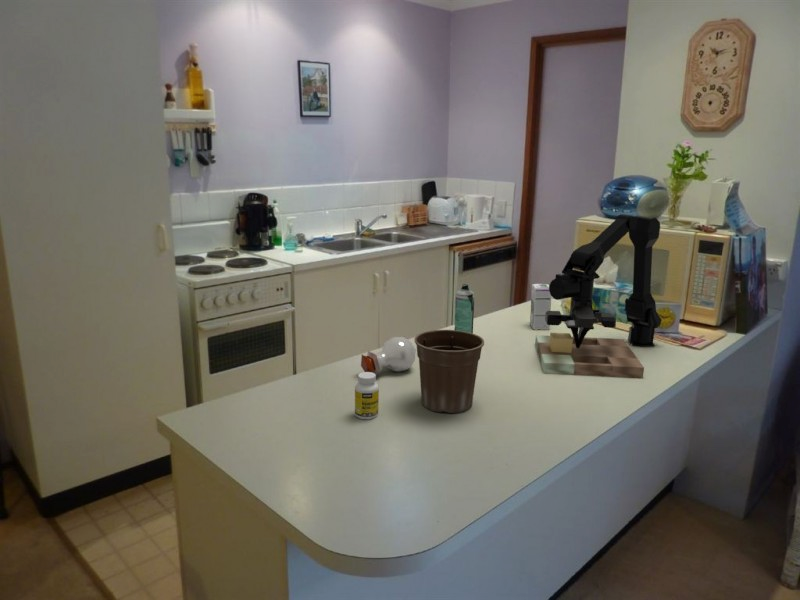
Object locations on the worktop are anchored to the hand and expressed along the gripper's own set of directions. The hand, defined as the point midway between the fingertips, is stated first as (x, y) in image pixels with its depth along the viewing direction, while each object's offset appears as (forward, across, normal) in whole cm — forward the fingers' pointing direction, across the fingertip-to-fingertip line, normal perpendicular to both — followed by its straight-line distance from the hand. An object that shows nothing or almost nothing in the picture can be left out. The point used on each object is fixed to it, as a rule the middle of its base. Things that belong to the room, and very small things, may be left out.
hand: (577, 347), depth 177 cm
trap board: (+4, +2, 0) cm, 4 cm away
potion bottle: (+4, -52, -17) cm, 55 cm away
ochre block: (+1, -5, 0) cm, 5 cm away
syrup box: (+4, -8, +30) cm, 31 cm away
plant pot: (+4, -36, -35) cm, 50 cm away
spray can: (+4, -32, +4) cm, 33 cm away
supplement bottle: (+4, -54, -44) cm, 69 cm away
